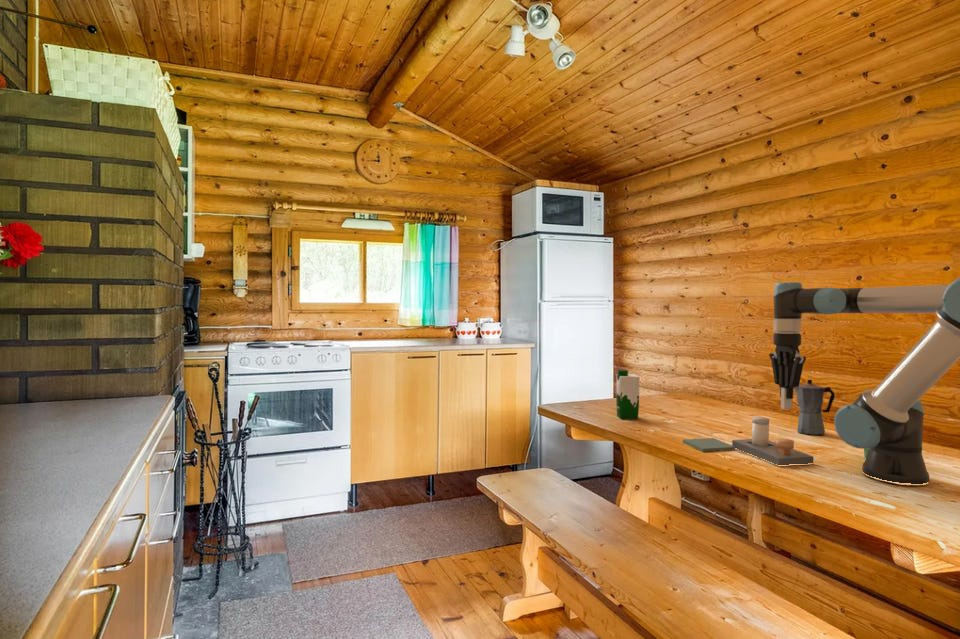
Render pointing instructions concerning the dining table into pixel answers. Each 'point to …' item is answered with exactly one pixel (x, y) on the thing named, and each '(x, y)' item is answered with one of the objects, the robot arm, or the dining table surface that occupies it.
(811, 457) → the housing
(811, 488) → the dining table surface
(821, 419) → the moka pot
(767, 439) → the cylinder
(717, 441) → the mat
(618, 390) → the milk carton
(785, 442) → the brown mushroom
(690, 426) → the dining table surface
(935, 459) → the dining table surface
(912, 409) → the robot arm
